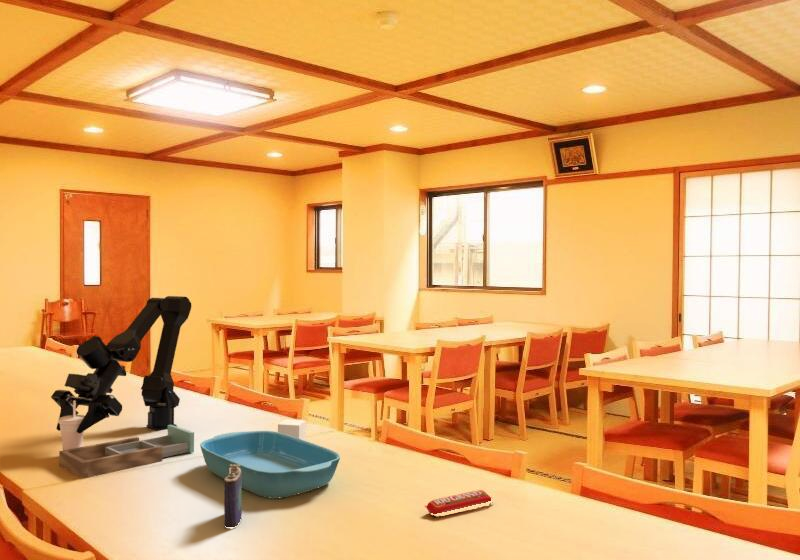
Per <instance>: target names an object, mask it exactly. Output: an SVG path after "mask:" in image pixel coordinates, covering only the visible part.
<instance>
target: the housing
mask: <svg viewBox="0 0 800 560" xmlns="http://www.w3.org/2000/svg"><path fill="white" fill-rule="evenodd" d="M135 441H140V437H139V436H133V437H130V438H123V439H118V440H112V441H107V442H102V443H96V444H91V445H85V446H82V447H79V448H74V449H68V450H63V449H62V450H59V451H58V452H59V458H58V459H59V461H58V462H59V463H58V464H59V467H61V468H63V469H64V468H65V469H64V470H66V469H67V470H66V471H68V472H70V473H72V474H74V475H75V474H76V475H75V476H77V475H78V476H77V477H79V478H81V477H82V478H81V479H86V477H87V478H90V477H95V475H96V476H99V474H100V475H104V474H105V475H106V474H109V473H113V472H119V471H123V470H127V469H128V470H129V469H131V468H135V467H140V466H146V465H150V464H154V463H160V462H162V461H163V458H162V446H157V447H152V448H147V449H142V450H137V451H132V452H127V453H122V454H117V455H112V456H107V457H105V447H109V446H114V445H120V444H125V443H130V442H135Z"/></svg>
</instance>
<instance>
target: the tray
mask: <svg viewBox="0 0 800 560" xmlns="http://www.w3.org/2000/svg"><path fill="white" fill-rule="evenodd" d="M157 446H162V459H163V458H166V457H167V458H168V457H172V456H176V455H177V456H178V455H181V454H186V453H190V454H191V453H194V452H195V432H194V431H190V430H188V429H185V428H183V427H179V426H178V425H177V426H174V425H168V428H167V435H162V436H158V437H151V438H148V439H142V440H139V441H135V442H130V443H125V444H120V445H114V446H109V447H105V457H107V456H112V455H117V454H122V453H127V452H132V451H137V450H142V449H147V448H152V447H157Z"/></svg>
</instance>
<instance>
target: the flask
mask: <svg viewBox="0 0 800 560" xmlns="http://www.w3.org/2000/svg"><path fill="white" fill-rule="evenodd" d="M229 466H230V467H231V468H229V470H228V476H227V477H226V478H225V479H223V484H224V485H223V486H224V487H223V488H224V490H223V492H224V493H223V494H224V499H223V501H224V503H223V509H224V521H223V523H224V525H225V526H226V527H235V526H237V525H238V523H239V522H240V519H241V520H242V488H241V484H242V480H241V478H242V472H241V469H240V468H239V467H238V466H240V465H238V464H237V465H235V464H234V465H232V464H231V465H229ZM240 523H241V522H240Z"/></svg>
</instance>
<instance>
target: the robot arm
mask: <svg viewBox="0 0 800 560" xmlns="http://www.w3.org/2000/svg"><path fill="white" fill-rule="evenodd" d="M191 310H192V301H190V299H189V297H187V296H177V295H167V296H166V297H151V298H148V299H147V301H146V303H145V306H144V307H143V308H142V310H141V311H140V312H139V313H138V315H137V316H136V317H135V318H134V320H133V321H132V322H131V324H129V326H128V327H127V328H126V329H125V331H123V332H121V333H119V334H116V335H115V336H114V337H113V338H112V339H111V340H110V341H109V342H108V343H107V344H105V342H103V340H102V338H101V337H100V336H97V335H93V336H91V338H90V339H87V340H84V341H83V342H81V344H79V345H78V347H77V348H76V354H77V356H79V358H80V359H81V360H82V361H83V363H84V364H85V365H86V366H87V367H88V368H90V369H91V370H94V371H93V373H92V372H91V373H90V372H88V373H87V374H86V375H85V374H77V373H68V374H67V377H66V380H65V383H64V387H66V388H71V389H73V392H74V394H77V396H76V395H74V394H73V393H72V392H71V391H70V390H66V389H56V390H55V391H54V392H53V393H52V395H51V397H50V398H51V399H52V400H53V402H55V403H56V404H57V405H58V407H60V412H59V417H58V419H59V418H60V417H64V416H69V415H73V401H74V400H76V415H79V412H78V411H77V409H78V407H79V406H83V407H84V406H86V407H87V412H86V413H85V415H84V416H85V417H84V418H83V420H82V422H81V423H80V425H79V427H78V429H77V432H78V433H82V432H83V431H84V432H85V431H86V430H88V429H89V428H91V427H92V426H94V425H95V424H98V423H99V422H101V421H103V420H105V419H106V418H107V419H108V418H110V416H111V417H112V416H115V417H119V416H120V414H121V413H122V411H123V404H122V403H121V402H120V401H119V400H118V399H117V398H116V397H115V395H113V394H112V392H113V391H114V390H113V388H112V386H113V385H114V383H115V382H116V380H117V379H118V377H120V376H121V377H126V376H127V370H126V366H125V365H122V364H120V363H119V362H124V363H130V362H133V361H135V359H136V358H137V356H138V354H139V352H140V350H141V348H142V345H141V344H142V340H143V339H144V338H145V336H146V335H147V333H149V331H150V329H151V328H152V327H153V325H154V324H155V323H156V322H157V320H158V319H159V318H160V317H161V320H162V323H163V325H162V329H161V334H160V339H159V341H158V347H157V350H156V351H157V352H156V357H155V361H154V366H153V369H152V371H151V373H150V374H149V375H144V376H143V380H142V384H141V388H140V390H141V397H142V399H143V403H144V406H145V407H149V409H148V412H147V424H146V427H148V428H150V429H153V430H155V431H159V430H165V429H168V425H174V426H177V427H178V425H177V424H175V408H176V407H179V404H180V401H181V398H180V397H179V396H178V394H177V393H176V392H175V391H174V386H175V382H174V380H173V377H172V373H171V372H172V368H173V364H174V359H175V355H176V350H177V347H178V341H179V335H180V332H181V329H182V328H181V327H182V325H184V323H185V322H186V321H187V320H188V319H189V317H190V313H191ZM56 430H57V431H58V432H61V430H60V424H59V423H58V422H57V424H56Z"/></svg>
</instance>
